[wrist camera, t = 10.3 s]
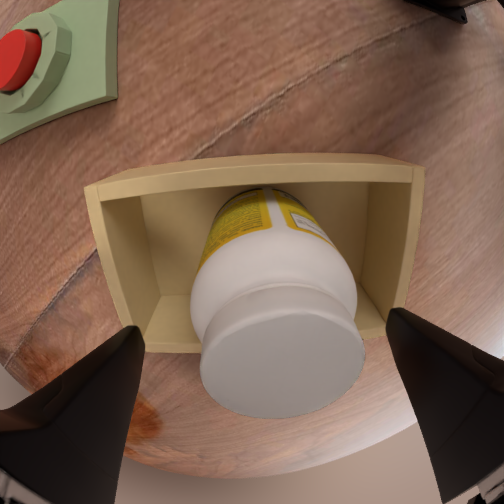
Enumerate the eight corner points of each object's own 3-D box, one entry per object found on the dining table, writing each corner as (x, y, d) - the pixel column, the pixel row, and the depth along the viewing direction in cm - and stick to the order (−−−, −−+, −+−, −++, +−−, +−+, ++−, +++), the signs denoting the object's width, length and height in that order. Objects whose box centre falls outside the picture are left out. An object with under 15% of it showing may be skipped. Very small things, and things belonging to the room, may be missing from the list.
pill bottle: (212, 278, 18) (184, 428, 8) (211, 183, 16) (151, 277, 6) (306, 279, 19) (355, 423, 8) (317, 187, 16) (419, 281, 6)
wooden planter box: (377, 154, 16) (426, 167, 11) (366, 287, 20) (396, 334, 14) (128, 169, 16) (82, 187, 11) (155, 301, 20) (131, 352, 15)
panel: (120, -13, 10) (99, -33, 7) (118, 98, 14) (90, 93, 11) (2, 49, 10) (-24, 46, 7) (0, 144, 14) (-29, 151, 11)
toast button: (45, 23, 8) (29, 18, 7) (40, 76, 10) (22, 74, 8) (5, 49, 8) (-11, 47, 7) (1, 99, 10) (-16, 100, 8)
